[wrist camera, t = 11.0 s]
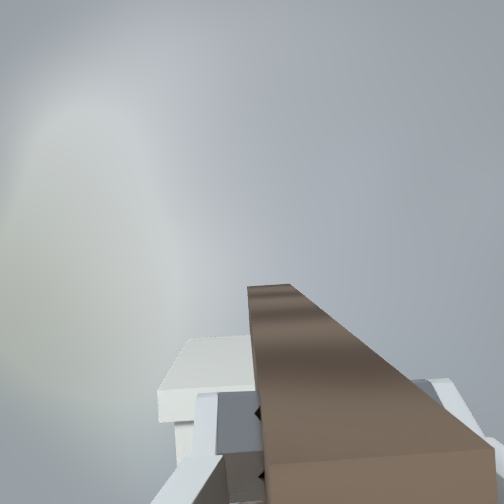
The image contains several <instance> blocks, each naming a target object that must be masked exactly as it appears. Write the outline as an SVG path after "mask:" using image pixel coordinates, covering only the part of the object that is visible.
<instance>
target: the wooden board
mask: <svg viewBox="0 0 504 504" xmlns="http://www.w3.org/2000/svg"><path fill="white" fill-rule="evenodd" d="M247 290H248V307H249V323H250V336H251V347H252V358H253V369H254V380H255V391H259V399H260V415H261V423H262V436H263V448H264V476H265V494H266V500H265V501H266V504H498V500H497V480H496V461H495V448H494V447H492V446H491V445H490V444H489V443H487V442H486V441H485V440H484V439H482V438H481V437H480V436H479V435H477V434H476V433H475V432H474V431H472V430H471V429H470V428H469V427H467V426H466V425H465V424H464V423H462V422H461V421H460V420H459V419H457V418H456V417H455V416H454V415H452V414H451V413H450V412H449V411H447V410H446V409H445V408H444V407H442V406H441V405H440V404H439V403H437V402H436V401H435V400H434V399H432V398H431V397H430V396H429V395H427V394H426V393H425V392H424V391H422V390H421V389H420V388H419V387H418V386H416V385H415V384H414V383H413V382H411V381H410V380H409V379H407V378H406V377H405V376H404V375H403V374H401V373H400V372H399V371H398V370H396V369H395V368H394V367H393V366H391V365H390V364H389V363H387V362H386V361H385V360H384V359H383V358H381V357H380V356H379V355H378V354H376V353H375V352H374V351H373V350H371V349H370V348H369V347H368V346H366V345H365V344H364V343H363V342H361V341H360V340H359V339H358V338H356V337H355V336H354V335H353V334H351V333H350V332H349V331H348V330H346V329H345V328H344V327H343V326H341V325H340V324H339V323H338V322H337V321H335V320H334V319H333V318H331V317H330V316H329V315H328V314H327V313H325V312H324V311H323V310H321V309H320V308H319V307H318V306H317V305H315V304H314V303H313V302H312V301H310V300H309V299H308V298H307V297H305V296H304V295H303V294H302V293H300V292H299V291H298V290H297V289H295V288H294V287H293V286H291V285H290V284H281V285H265V286H250V287H247Z"/></svg>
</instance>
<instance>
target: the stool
mask: <svg viewBox="0 0 504 504" xmlns="http://www.w3.org/2000/svg"><path fill="white" fill-rule="evenodd" d="M238 391H255V380H254V369H253V358H252V347H251V336H250V335H241V336H223V337H206V338H189V339H187V341H186V343H185V344H184V346H183V348H182V349H181V351H180V353H179V355H178V356H177V358H176V360H175V361H174V363H173V365H172V366H171V368H170V370H169V371H168V373H167V375H166V376H165V378H164V380H163V381H162V383H161V385H160V387H159V388H158V390H157V396H158V411H159V422H175V440H176V457H177V467H178V465H179V464H180V463H181V461H182V460H183V459H184V457H191V451H192V439H193V427H194V416H195V404H196V398H197V394H198V393H215V392H238ZM229 504H230V503H229Z"/></svg>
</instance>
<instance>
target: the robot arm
mask: <svg viewBox="0 0 504 504" xmlns="http://www.w3.org/2000/svg"><path fill="white" fill-rule="evenodd" d="M410 381H411V382H413V383H414V384H415V385H416V386H418V387H419V388H420V389H421V390H422V391H424V392H425V393H426V394H427V395H429V396H430V397H431V398H432V399H434V400H435V401H436V402H437V403H439V404H440V405H441V406H442V407H444V408H445V409H446V410H447V411H449V412H450V413H451V414H452V415H454V416H455V417H456V418H457V419H459V420H460V421H461V422H462V423H464V424H465V425H466V426H467V427H469V428H470V429H471V430H472V431H474V432H475V433H476V434H477V435H479V436H480V437H481V438H482V439H484V440H485V441H486V442H487V443H489V444H490V445H491V446H492V447H494V448H495V461H496V480H497V500H498V504H504V445H503V444H501V443H500V442H498V441H497V440H495V439H494V438H493V437H485V436H484V434H483V432H482V431H481V429H480V427H479V426H478V424H477V422H476V421H475V419H474V417H473V415H472V414H471V412H470V410H469V409H468V407H467V405H466V404H465V402H464V400H463V399H462V397H461V395H460V394H459V392H458V390H457V389H456V387H455V385H454V384H453V382H452V381H451V380H450V379H448V378H441V379H427V380H425V379H420V380H410ZM256 500H266V494H265V476H264V448H263V436H262V423H261V415H260V399H259V391H238V392H215V393H198V394H197V398H196V404H195V416H194V427H193V439H192V451H191V457H184V459H183V460H182V461H181V463H180V464H179V465H178V467H177V468H176V470H175V471H174V473H173V474H172V475H171V476H170V478H169V479H168V480H167V482H166V483H165V484H164V486H163V487H162V488H161V490H160V491H159V493H158V494H157V495H156V497H155V498H154V499H153V501H152V502H151V503H150V504H229V503H235V502H246V501H256Z"/></svg>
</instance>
